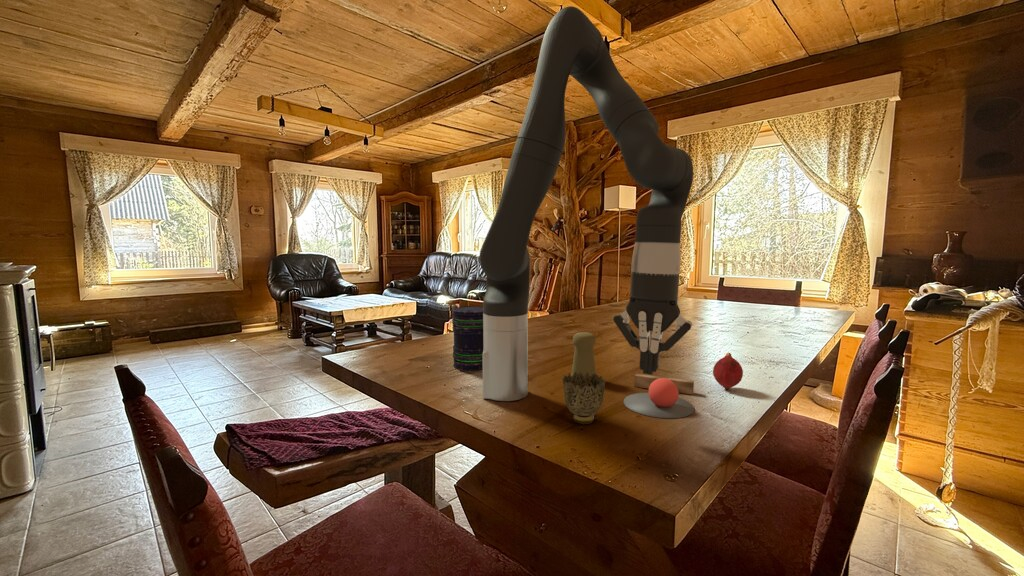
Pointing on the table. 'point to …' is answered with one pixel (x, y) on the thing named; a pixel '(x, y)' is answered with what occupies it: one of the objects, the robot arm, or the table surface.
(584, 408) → the cup
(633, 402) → the gray disc
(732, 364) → the onion
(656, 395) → the ball
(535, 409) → the table surface
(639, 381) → the stopper rail
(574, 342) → the pestle
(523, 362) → the robot arm
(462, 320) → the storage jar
